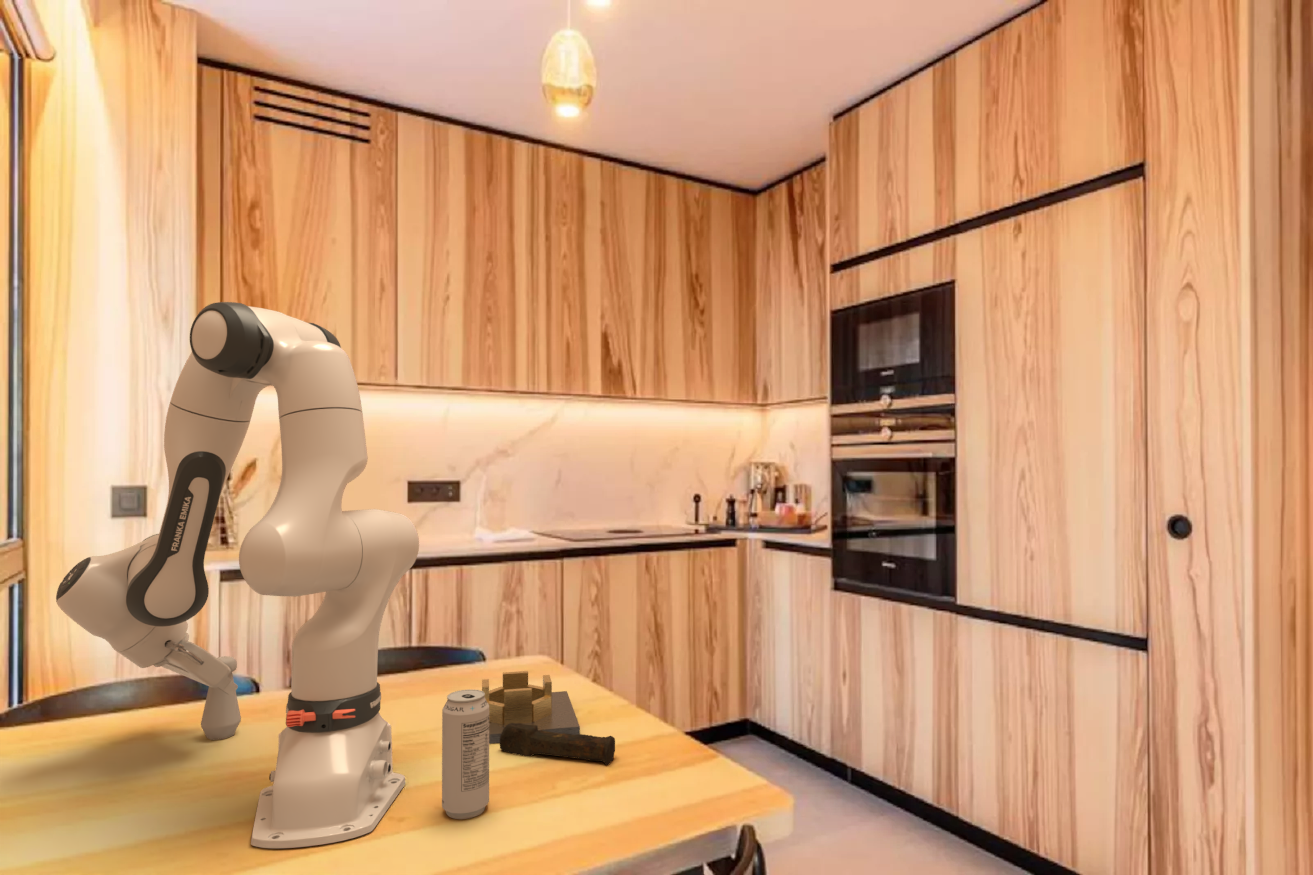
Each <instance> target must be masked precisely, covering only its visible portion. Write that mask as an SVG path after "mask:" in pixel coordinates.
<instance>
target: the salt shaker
mask: <svg viewBox="0 0 1313 875" xmlns="http://www.w3.org/2000/svg"><path fill="white" fill-rule="evenodd" d="M217 658H218V659H219V660H220V661H222V662H223V663H225V664H226V665H227V666H228V667H229V668H230V669H231V672H230V674H229V675H228V677H229V678H230V679H231V681H233V682H234V674H233V672H235V671H236V670H237V668H238V666H237V665H238V662H237V659H236V658H235V657H234V656H230V655H227V656H226V655H225V656H219V657H217ZM234 683H235V682H234ZM241 720H242V716H241V710H240V706H239V702H238V696H237V690H236V691H235V692H234V693H233V694H232V695H229V694H226V693H225V692H223V691H222V690H220V689H219V688H218V687H217V688H212V687H209V686H208V690H207V693H206V698H205V703H204V707H203V712H202V717H201V720H200V721H201V722H200V727H201V730H202V731H203V733H204V735H205V737H206V739H209V740H211V741H216V740H225V739H228V738H230V737H232V736H235V733H236V731H237V729H238V727H239V725H240V723H241V722H242V721H241Z"/></svg>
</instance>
